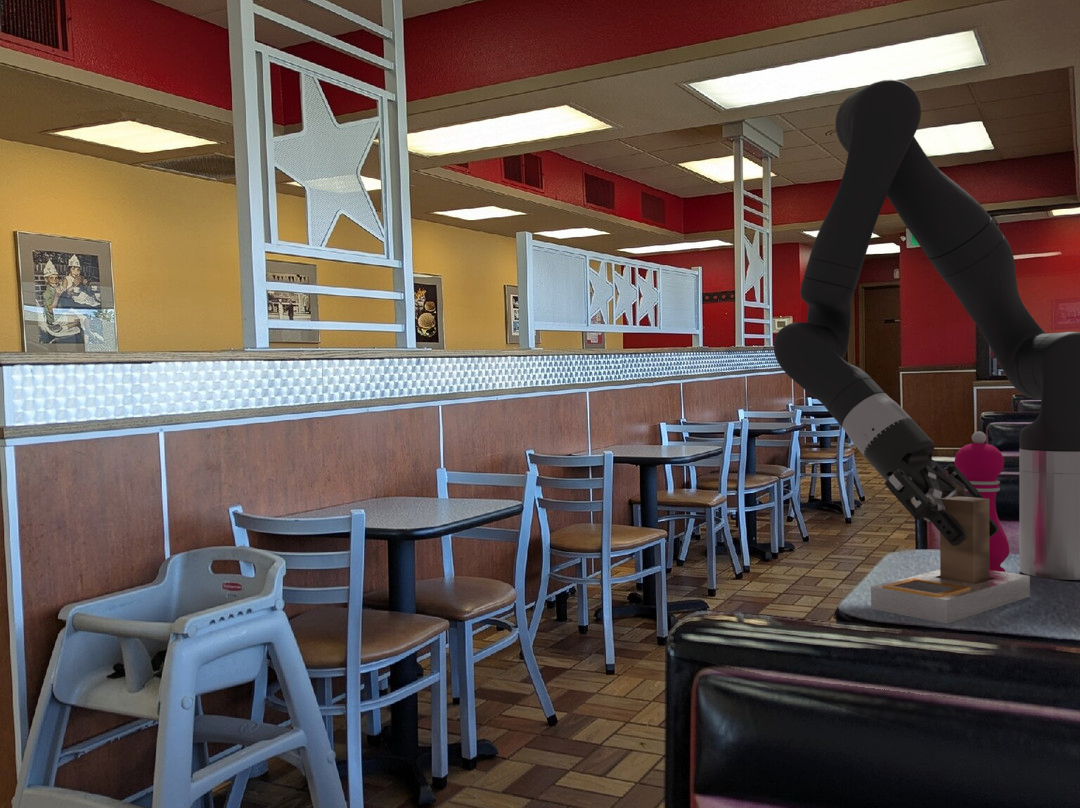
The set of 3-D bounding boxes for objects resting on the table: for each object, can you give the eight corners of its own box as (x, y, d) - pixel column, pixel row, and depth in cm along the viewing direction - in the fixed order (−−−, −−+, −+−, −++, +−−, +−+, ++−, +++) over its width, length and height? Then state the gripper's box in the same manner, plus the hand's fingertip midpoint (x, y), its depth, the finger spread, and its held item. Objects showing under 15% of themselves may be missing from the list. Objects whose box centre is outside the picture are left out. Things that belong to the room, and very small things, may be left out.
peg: (956, 593, 113) (956, 496, 113) (989, 598, 110) (989, 498, 110) (940, 598, 111) (940, 498, 111) (973, 603, 108) (973, 501, 108)
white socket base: (956, 588, 119) (956, 563, 118) (1029, 600, 112) (1029, 574, 112) (871, 612, 106) (870, 584, 106) (946, 627, 99) (947, 598, 99)
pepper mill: (958, 573, 128) (958, 429, 128) (1015, 579, 124) (1015, 431, 124) (942, 581, 123) (942, 431, 123) (1001, 588, 118) (1001, 433, 118)
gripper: (874, 417, 112) (970, 524, 103) (935, 415, 121) (1028, 512, 112) (836, 458, 116) (925, 564, 107) (897, 453, 125) (984, 550, 116)
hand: (977, 537), depth 109 cm, fingers open, 7 cm apart
